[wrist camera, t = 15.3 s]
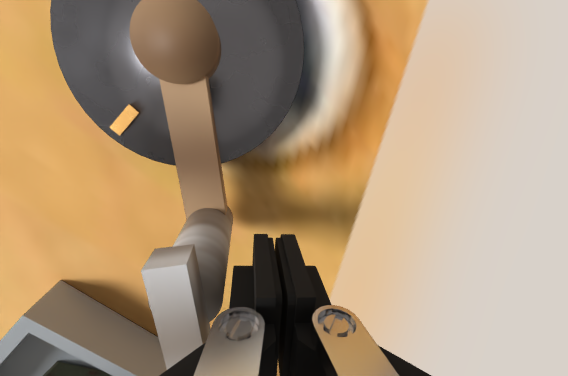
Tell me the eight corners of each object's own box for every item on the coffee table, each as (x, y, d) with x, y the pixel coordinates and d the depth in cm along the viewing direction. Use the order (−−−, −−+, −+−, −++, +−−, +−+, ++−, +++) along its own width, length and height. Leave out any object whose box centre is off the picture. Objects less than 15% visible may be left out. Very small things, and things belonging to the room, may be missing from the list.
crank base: (205, 200, 18) (201, 209, 16) (20, 52, 14) (-7, 46, 13) (340, 54, 16) (350, 49, 15) (171, -148, 13) (160, -182, 11)
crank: (135, 6, 13) (-44, -156, 5) (215, 2, 13) (167, -154, 5) (186, 253, 17) (129, 388, 9) (247, 245, 17) (246, 368, 9)
